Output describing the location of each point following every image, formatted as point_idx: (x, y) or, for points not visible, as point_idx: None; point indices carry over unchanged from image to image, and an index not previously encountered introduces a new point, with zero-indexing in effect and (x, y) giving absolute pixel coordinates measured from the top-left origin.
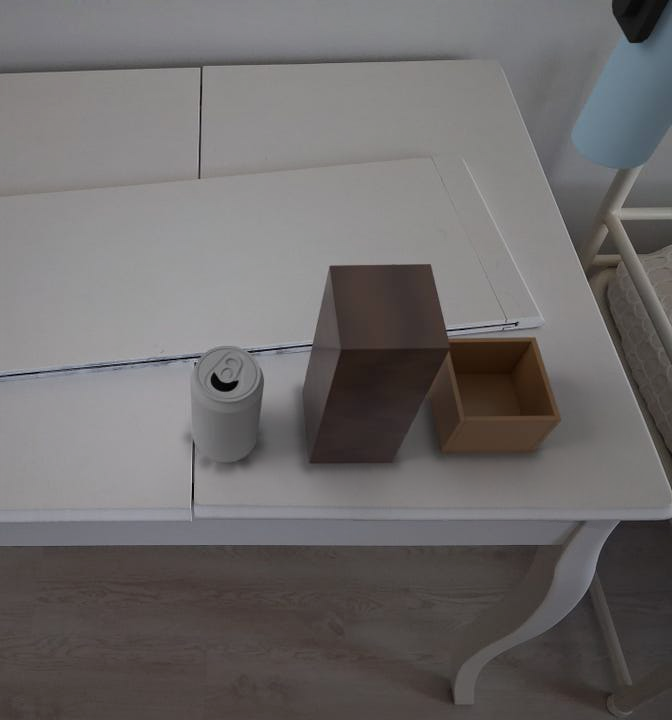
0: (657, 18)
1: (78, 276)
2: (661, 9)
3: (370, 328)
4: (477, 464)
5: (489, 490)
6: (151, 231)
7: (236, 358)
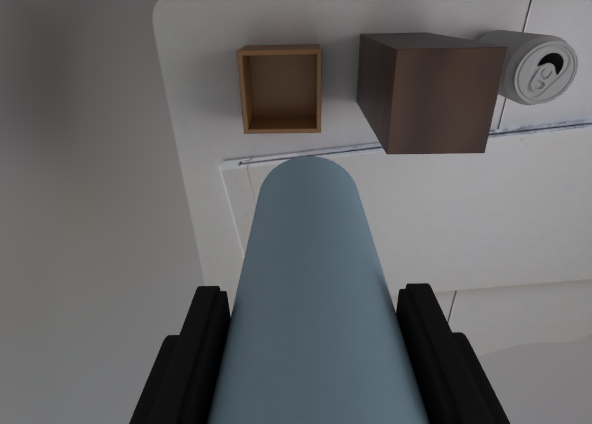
0: (417, 319)
1: (571, 207)
2: (429, 333)
3: (470, 74)
4: (292, 33)
5: (286, 8)
6: (503, 246)
7: (533, 89)
